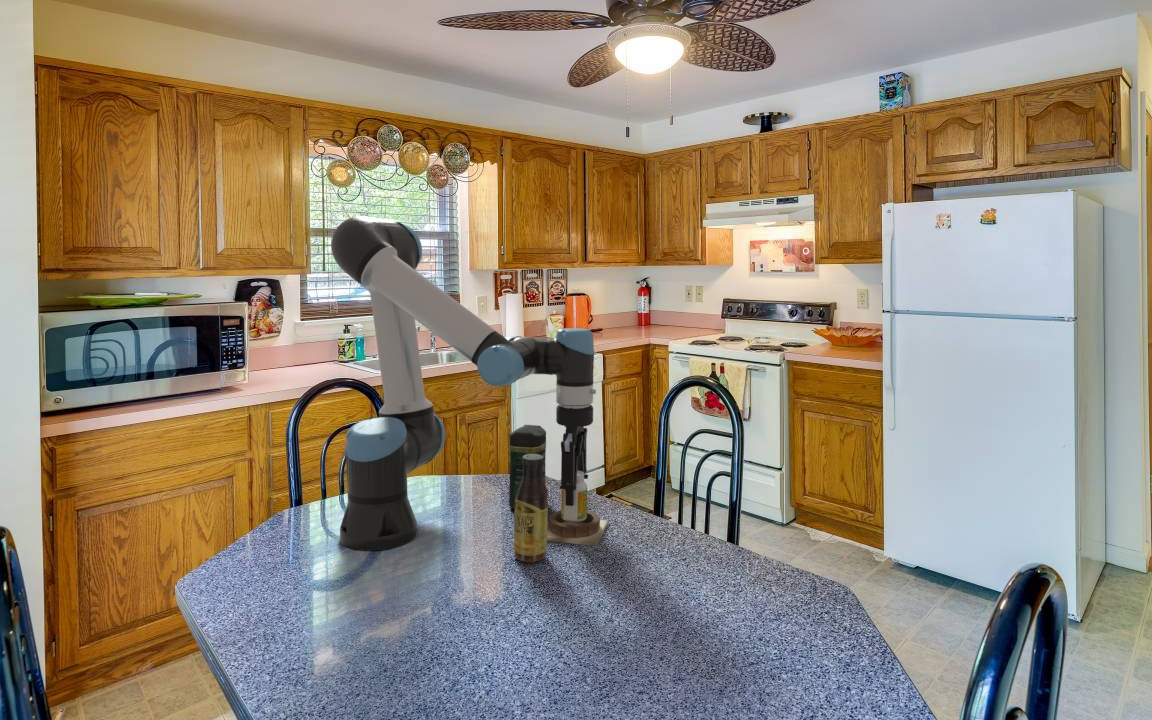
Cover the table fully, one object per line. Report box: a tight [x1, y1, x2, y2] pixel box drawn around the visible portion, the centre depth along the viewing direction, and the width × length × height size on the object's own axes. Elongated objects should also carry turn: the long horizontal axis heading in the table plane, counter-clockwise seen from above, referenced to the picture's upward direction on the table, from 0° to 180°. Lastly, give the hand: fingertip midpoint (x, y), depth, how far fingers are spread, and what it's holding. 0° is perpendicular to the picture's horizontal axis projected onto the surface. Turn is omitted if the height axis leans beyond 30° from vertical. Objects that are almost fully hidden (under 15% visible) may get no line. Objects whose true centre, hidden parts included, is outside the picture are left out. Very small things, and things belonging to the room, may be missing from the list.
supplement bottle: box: [560, 470, 588, 522], centre depth 142 cm, size 5×5×10 cm
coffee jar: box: [508, 424, 547, 510], centre depth 158 cm, size 10×8×19 cm
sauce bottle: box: [513, 454, 549, 564], centre depth 129 cm, size 7×6×20 cm
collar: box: [547, 510, 609, 546], centre depth 143 cm, size 12×12×3 cm
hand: (573, 514), depth 143 cm, fingers closed on supplement bottle, 5 cm apart
